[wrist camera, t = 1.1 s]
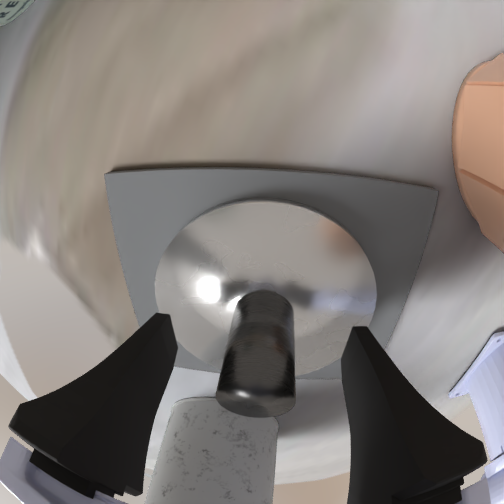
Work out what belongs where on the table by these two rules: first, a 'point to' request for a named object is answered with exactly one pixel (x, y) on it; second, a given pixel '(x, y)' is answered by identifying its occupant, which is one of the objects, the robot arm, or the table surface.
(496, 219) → the bowl
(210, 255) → the lid
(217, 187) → the mat
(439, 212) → the table surface
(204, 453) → the grey concrete cylinder
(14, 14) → the food container
